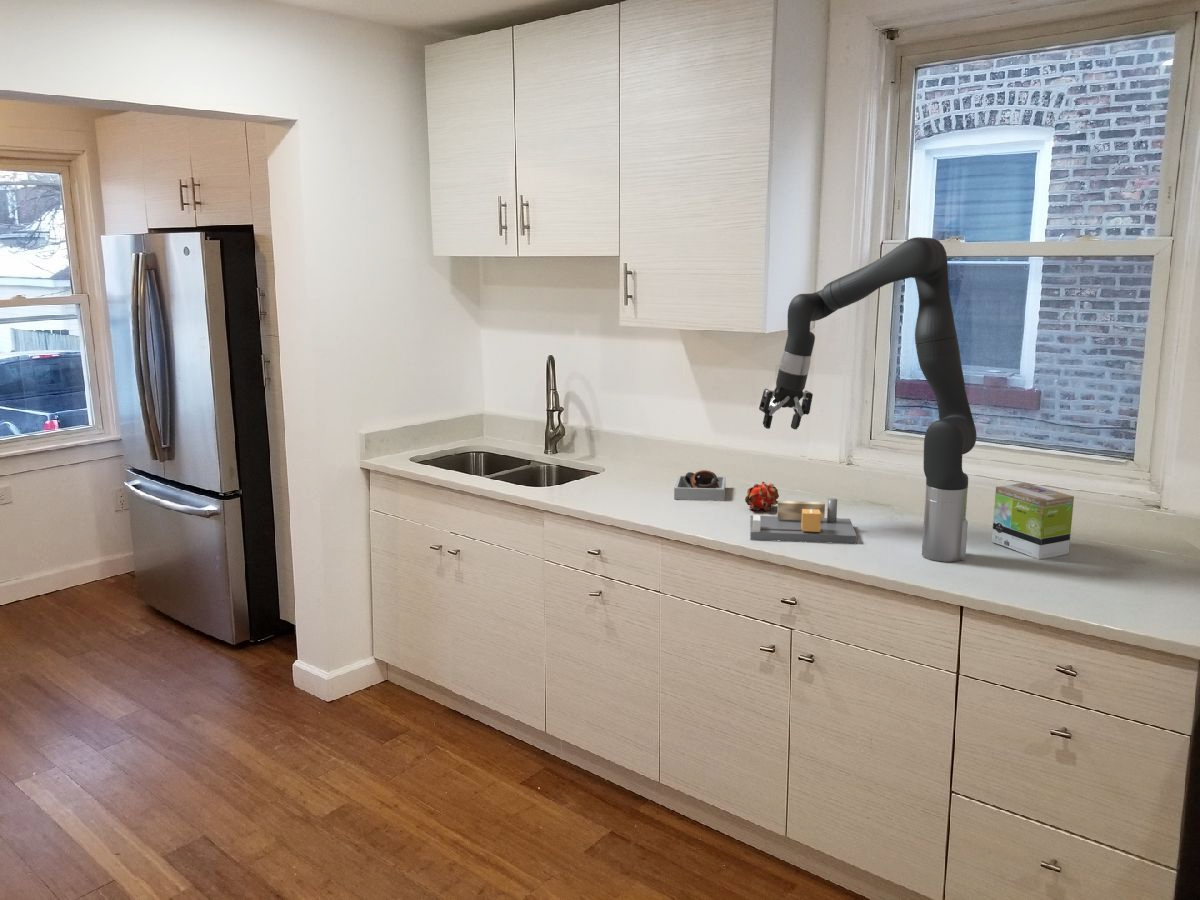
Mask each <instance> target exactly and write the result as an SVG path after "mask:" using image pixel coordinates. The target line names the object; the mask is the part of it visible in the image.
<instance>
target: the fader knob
mask: <svg viewBox="0 0 1200 900" xmlns="http://www.w3.org/2000/svg"><path fill="white" fill-rule="evenodd" d="M820 522H821V513H820V510H819V509H802V520H801V528H802V531H811V532H820Z"/></svg>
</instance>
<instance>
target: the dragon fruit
mask: <svg viewBox="0 0 1200 900" xmlns="http://www.w3.org/2000/svg"><path fill="white" fill-rule="evenodd" d="M746 493H747V495H746V496H745V498H744V502H745V503H746V505H747V506H749V510H750V511H755V510H757V511H759V510H762V509H763V510H764V512H768V511H769V510H770V509H771V506H775V505H778V501H779V500H778V499H779V498H780V494H779V489H778V488H777V487H776V486H775V484H773V483H769V484H766V483H765V481H761V483H760V484H758V483H755V484H753V486H751V487H749V488H748V489H747V492H746Z"/></svg>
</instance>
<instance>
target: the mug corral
mask: <svg viewBox="0 0 1200 900" xmlns="http://www.w3.org/2000/svg"><path fill="white" fill-rule="evenodd" d="M699 477H700V476H698V477H697V478H699ZM717 479H718V480H719V481H718V482H717V483H718V485H719V488H716V489H715V488H691V487H690V485H689V484H688V483H687V482H686V480H685V475H678V476H677V478H676V480H675V481H676V482H675V485H674V489H673V494H674V495H673V500H675V499H679V501H680V500H681V501H708V500H714V501H713V502H715V501H716V502H717V500H720V501H719V502H724V501H725V495H726V479H727V478H726V476H717ZM713 481H714V478H712V481H711V483H712V482H713Z"/></svg>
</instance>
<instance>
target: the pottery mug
mask: <svg viewBox="0 0 1200 900" xmlns="http://www.w3.org/2000/svg"><path fill="white" fill-rule="evenodd" d="M684 476H685V480H686V482H687V483H688V484H689V485H690V487H689V488H715V489H720V488H719V485H718V483H717V482H718V481H719V480H718V479H717V477H718V476H717V474H716V473H714V472H713V471H710V470H708V469H707V470H705V469H701V470H699V471H696V472H691V471H689V472H686V474H684ZM698 476H700V477H699V478H697V477H698ZM712 478H714V481H713V482H712V483H711V481H712Z"/></svg>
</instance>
